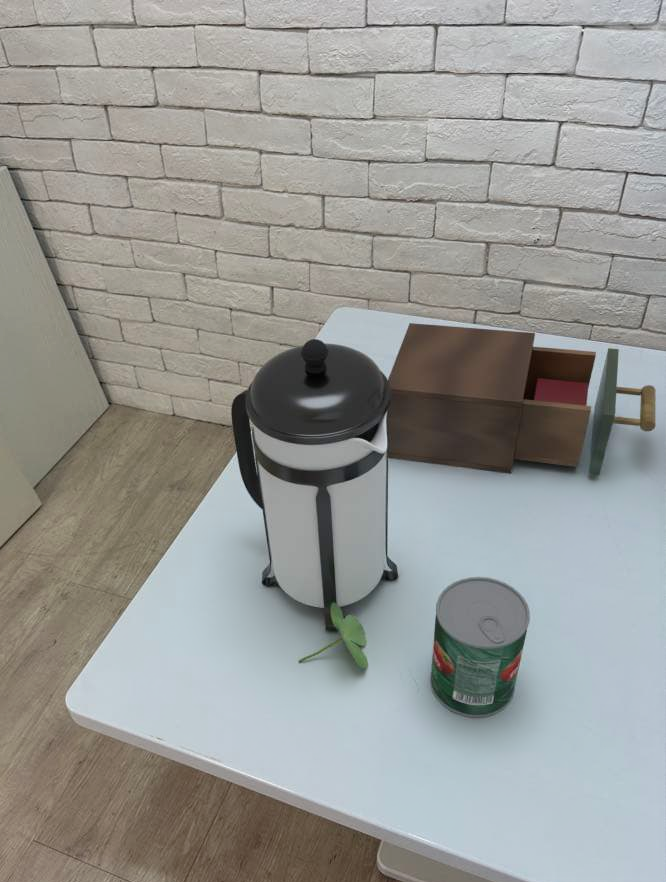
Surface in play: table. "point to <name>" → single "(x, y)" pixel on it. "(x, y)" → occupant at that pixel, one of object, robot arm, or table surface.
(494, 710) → the canned tomato
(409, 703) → the table surface
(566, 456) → the drawer
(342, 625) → the seedling
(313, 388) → the coffee press
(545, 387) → the maroon rectangular block
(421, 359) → the cabinet
